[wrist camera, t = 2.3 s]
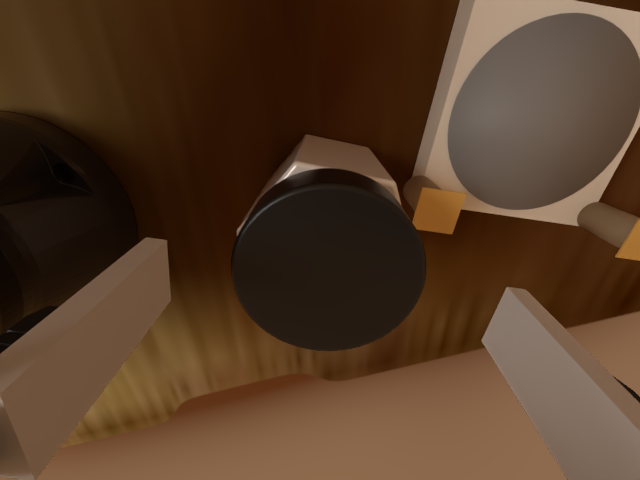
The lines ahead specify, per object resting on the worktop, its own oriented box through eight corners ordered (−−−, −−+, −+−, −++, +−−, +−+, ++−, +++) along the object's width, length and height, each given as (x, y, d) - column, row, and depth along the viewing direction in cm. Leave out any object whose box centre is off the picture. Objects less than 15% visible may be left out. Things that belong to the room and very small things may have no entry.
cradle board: (389, 193, 24) (410, 228, 18) (456, -81, 17) (527, -172, 11) (574, 220, 24) (654, 262, 19) (708, -33, 18) (901, -94, 12)
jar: (261, 231, 25) (213, 337, 14) (275, 125, 22) (226, 160, 11) (369, 251, 26) (401, 367, 15) (399, 151, 22) (470, 209, 12)
